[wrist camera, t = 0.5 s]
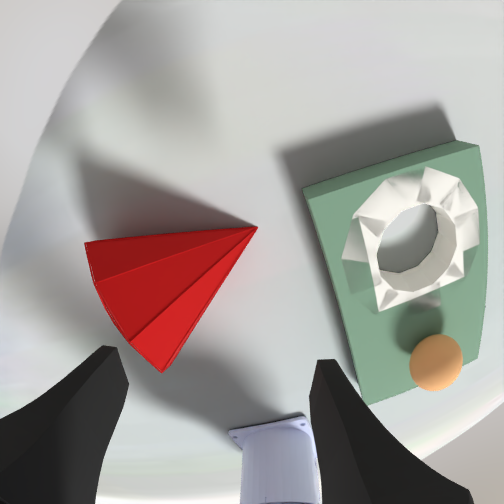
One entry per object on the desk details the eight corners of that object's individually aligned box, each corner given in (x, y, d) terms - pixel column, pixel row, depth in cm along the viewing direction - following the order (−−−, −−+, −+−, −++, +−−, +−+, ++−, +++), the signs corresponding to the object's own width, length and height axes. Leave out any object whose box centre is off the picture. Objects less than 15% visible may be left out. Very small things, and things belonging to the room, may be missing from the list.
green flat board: (465, 341, 22) (477, 358, 20) (358, 385, 24) (364, 406, 22) (456, 140, 15) (479, 145, 13) (301, 188, 17) (308, 199, 15)
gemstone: (221, 128, 15) (50, 227, 13) (323, 274, 14) (132, 393, 12) (219, 195, 23) (106, 262, 21) (282, 293, 22) (165, 366, 20)
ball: (447, 351, 19) (468, 387, 16) (402, 371, 20) (419, 410, 17) (449, 314, 18) (475, 350, 14) (400, 335, 19) (421, 376, 15)
